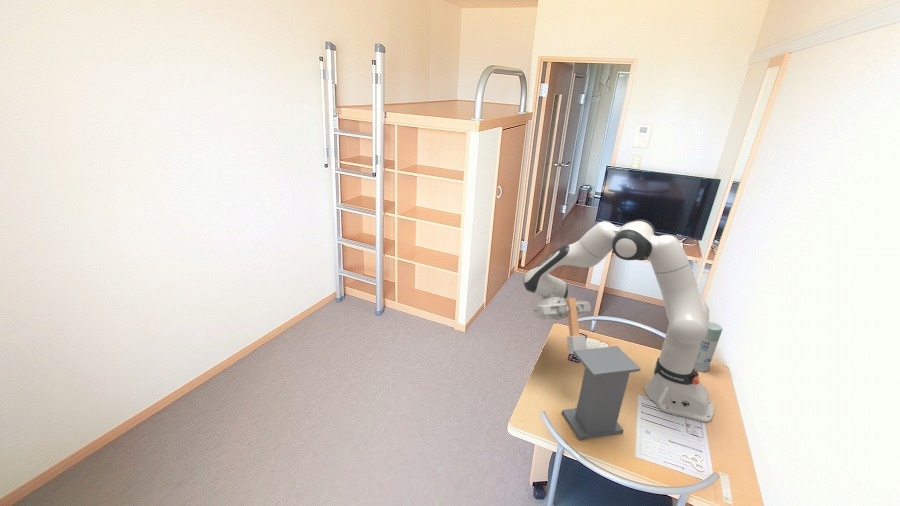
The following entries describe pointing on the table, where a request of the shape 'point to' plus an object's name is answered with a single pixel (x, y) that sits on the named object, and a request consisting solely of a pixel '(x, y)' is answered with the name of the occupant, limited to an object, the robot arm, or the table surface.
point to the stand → (600, 392)
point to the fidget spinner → (694, 462)
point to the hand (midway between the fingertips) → (573, 308)
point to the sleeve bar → (574, 329)
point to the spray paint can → (708, 347)
